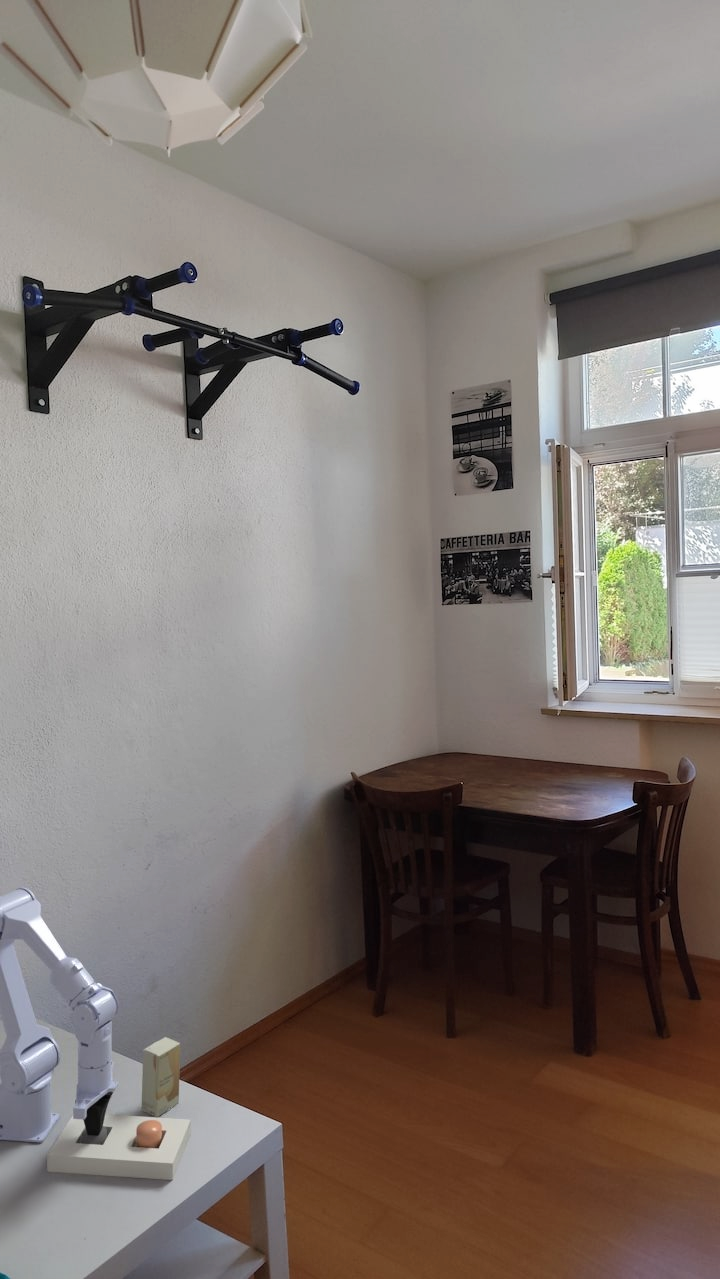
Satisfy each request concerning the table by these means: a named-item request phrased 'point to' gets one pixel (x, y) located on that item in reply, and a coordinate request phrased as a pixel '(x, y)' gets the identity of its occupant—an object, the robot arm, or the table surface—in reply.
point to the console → (120, 1149)
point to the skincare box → (160, 1076)
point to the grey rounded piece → (94, 1137)
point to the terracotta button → (149, 1134)
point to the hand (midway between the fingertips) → (94, 1133)
